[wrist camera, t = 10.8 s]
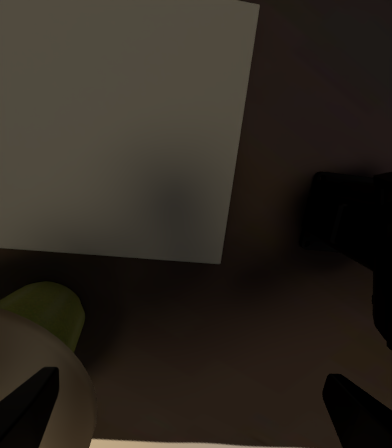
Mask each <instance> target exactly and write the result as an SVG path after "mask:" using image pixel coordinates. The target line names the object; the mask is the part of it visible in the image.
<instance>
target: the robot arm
mask: <svg viewBox="0 0 392 448" xmlns="http://www.w3.org/2000/svg"><path fill="white" fill-rule="evenodd" d="M321 176H323V180H322V181H320V177H321ZM302 227H303V228H302V233H301V237H300V241H299V245H300V246H301V247H302V248H303V249H307V250H319V251H330V252H340V253H342V254H344V255H346V256H347V257H349V258H351V259H353V260H354V261H356V262H358V263H360V264H361V265H363V266H365V267H367V268H368V269H370V270H372V271H373V295H372V304H373V319H374V324H375V327H376V328H377V329H378V331H379V332H380V333H381V335H382V336H383V338H384V339H385V340H386V341H387V347H388V348H389V349H391V350H392V172H388V173H383V174H378V175H374V176H373V178H370V177H362V176H354V175H346V174H337V173H329V172H318V173H317V174H316V175H315V177H314V181H313V185H312V190H311V194H310V196H309V197H308V200H307V205H306V209H305V213H304V218H303V222H302ZM306 241H308V243H307V244H306V245H304V243H305V242H306ZM58 394H59V369H58V367H43V368H42V369H40V370H39V371H38V372H36V373H35V374H34V375H33V376H31V377H30V378H29V379H28V380H26V381H25V382H24V383H23V384H21V385H20V386H19V387H17V388H16V389H15V390H14V391H12V392H11V393H10V394H9V395H7V396H6V397H5V398H4V399H2V400H1V401H0V448H39V446H40V443H41V441H42V438H43V435H44V432H45V430H46V427H47V424H48V422H49V419H50V416H51V413H52V411H53V408H54V405H55V402H56V400H57V397H58ZM322 395H323V400H324V403H325V405H326V408H327V410H328V413H329V415H330V417H331V420H332V422H333V425H334V427H335V430H336V432H337V435H338V437H339V440H340V442H341V445H342V447H343V448H392V410H390V409H389V408H387V407H386V406H385V405H383V404H382V403H380V402H379V401H378V400H376V399H375V398H374V397H372V396H371V395H369V394H368V393H367V392H365V391H364V390H362V389H361V388H360V387H358V386H357V385H355V384H354V383H353V382H351V381H350V380H348V379H347V378H346V377H344V376H343V375H341V374H329V375H328V376H327V378H326V382H325V385H324V388H323V393H322Z"/></svg>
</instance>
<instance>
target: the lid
mask: <svg viewBox="0 0 392 448" xmlns="http://www.w3.org/2000/svg"><path fill="white" fill-rule="evenodd" d="M43 367H58V369H59V394H58V397H57V400H56V402H55V405H54V408H53V411H52V413H51V416H50V419H49V422H48V424H47V427H46V430H45V432H44V435H43V438H42V441H41V443H40V446H39V448H89V446H90V443H91V439H92V436H93V433H94V429H95V426H96V421H97V411H98V410H97V398H96V394H95V390H94V386H93V384H92V381H91V379H90V377H89V374H88V372H87V371H86V369H85V368H84V366H83V364H82V363H81V361H80V360H79V359H78V358H77V356H76V355H75V354H74V353H73V352H72V350H71V349H70V348H68V347H67V346H66V345H65V344H64V343H63V342H62V341H61V340H60V339H59V338H57V337H56V336H55V335H53V334H52V333H50V332H49V331H48V330H46V329H45V328H43V327H41V326H40V325H38V324H36V323H34V322H32V321H31V320H29V319H27V318H24V317H22V316H20V315H17V314H15V313H13V312H10V311H7V310H4V309H1V308H0V401H1V400H2V399H4V398H5V397H6V396H7V395H9V394H10V393H11V392H12V391H14V390H15V389H16V388H17V387H19V386H20V385H21V384H23V383H24V382H25V381H26V380H28V379H29V378H30V377H31V376H33V375H34V374H35V373H36V372H38V371H39V370H40V369H42V368H43Z"/></svg>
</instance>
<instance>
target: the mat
mask: <svg viewBox="0 0 392 448" xmlns="http://www.w3.org/2000/svg"><path fill="white" fill-rule="evenodd" d="M259 7H260V5H258V4H253V3H248V2H243V1H238V0H0V248H8V249H22V250H35V251H49V252H62V253H76V254H89V255H103V256H116V257H130V258H143V259H157V260H170V261H184V262H198V263H211V264H220V263H221V257H222V250H223V244H224V237H225V231H226V224H227V217H228V211H229V204H230V198H231V191H232V185H233V178H234V171H235V165H236V158H237V152H238V145H239V138H240V132H241V125H242V119H243V112H244V106H245V99H246V92H247V86H248V79H249V73H250V66H251V59H252V53H253V46H254V40H255V33H256V27H257V20H258V13H259Z"/></svg>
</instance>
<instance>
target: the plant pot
mask: <svg viewBox="0 0 392 448" xmlns="http://www.w3.org/2000/svg"><path fill="white" fill-rule="evenodd" d="M0 308H1V309H4V310H7V311H10V312H13V313H15V314H17V315H20V316H22V317H24V318H27V319H29V320H31V321H32V322H34V323H36V324H38V325H40V326H41V327H43V328H45V329H46V330H48V331H49V332H50V333H52V334H53V335H55V336H56V337H57V338H59V339H60V340H61V341H62V342H63V343H64V344H65V345H66V346H67V347H68V348H70V349H71V350H72V352H73V353H74V351H75V348H76V345H77V342H78V339H79V336H80V333H81V330H82V328H83V325H84V321H85V312H84V310H83V307H82V305H81V302H80V299H79V297H78V296H77V295H76V294H75V293H74V292H73V291H72V290H70V289H69V288H67V287H66V286H63V285H61V284H58V283H55V282H49V281H43V282H37V283H33V284H29V285H26V286H24V287H22V288H20V289H18V290H17V291H15V292H13V293H11V294H10V295H8V296H6V297H5V298H3V299H1V300H0Z"/></svg>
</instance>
